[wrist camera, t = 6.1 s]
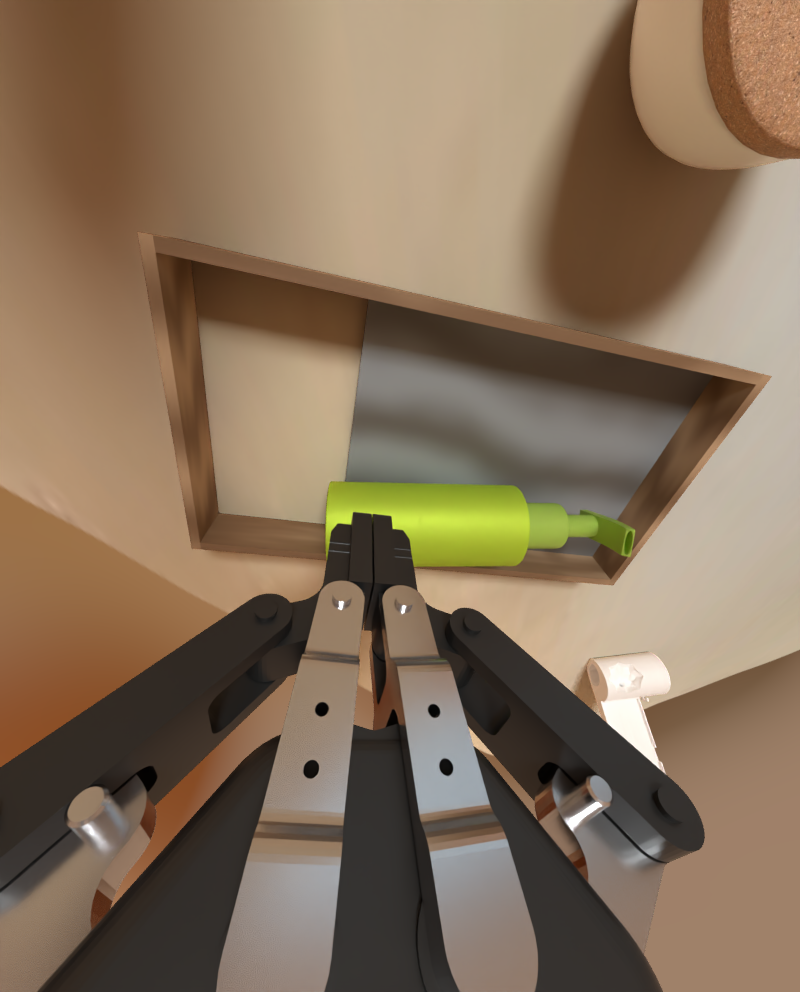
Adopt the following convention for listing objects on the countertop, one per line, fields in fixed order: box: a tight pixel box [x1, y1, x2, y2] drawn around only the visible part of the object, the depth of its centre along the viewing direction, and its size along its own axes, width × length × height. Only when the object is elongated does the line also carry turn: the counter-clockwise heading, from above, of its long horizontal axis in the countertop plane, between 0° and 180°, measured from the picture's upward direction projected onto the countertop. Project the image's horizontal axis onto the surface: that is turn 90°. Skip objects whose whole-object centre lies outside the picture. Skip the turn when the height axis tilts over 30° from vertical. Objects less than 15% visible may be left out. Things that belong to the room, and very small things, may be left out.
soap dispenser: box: [325, 481, 635, 567], centre depth 24 cm, size 6×7×20 cm
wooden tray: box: [137, 232, 772, 585], centre depth 24 cm, size 18×34×4 cm, turn 79°
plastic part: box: [587, 652, 671, 774], centre depth 40 cm, size 8×10×12 cm
